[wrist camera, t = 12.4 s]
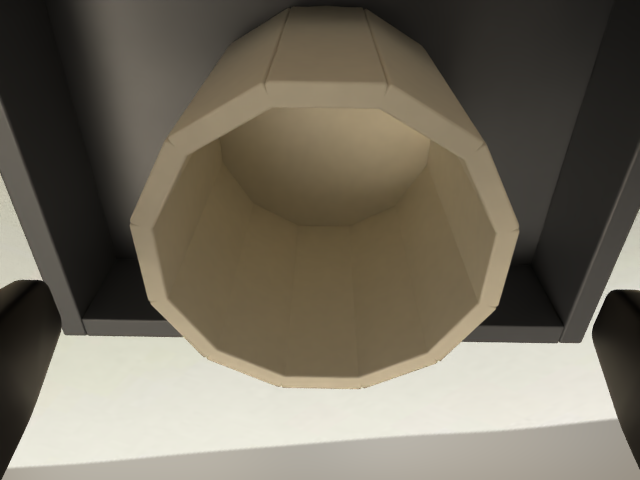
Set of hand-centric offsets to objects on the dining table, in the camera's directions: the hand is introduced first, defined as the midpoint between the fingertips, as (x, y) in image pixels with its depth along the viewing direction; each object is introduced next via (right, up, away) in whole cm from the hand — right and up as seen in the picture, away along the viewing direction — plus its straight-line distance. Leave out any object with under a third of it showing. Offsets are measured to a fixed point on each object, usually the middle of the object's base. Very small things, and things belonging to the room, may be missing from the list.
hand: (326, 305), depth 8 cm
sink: (0, +5, +7) cm, 8 cm away
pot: (0, +4, +6) cm, 8 cm away
